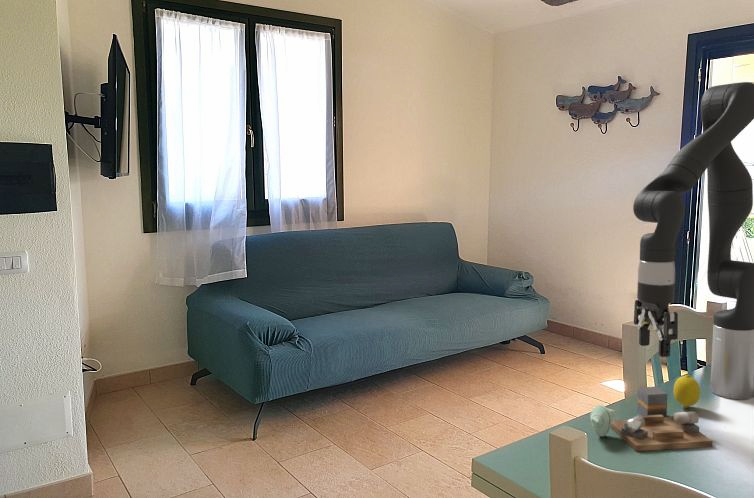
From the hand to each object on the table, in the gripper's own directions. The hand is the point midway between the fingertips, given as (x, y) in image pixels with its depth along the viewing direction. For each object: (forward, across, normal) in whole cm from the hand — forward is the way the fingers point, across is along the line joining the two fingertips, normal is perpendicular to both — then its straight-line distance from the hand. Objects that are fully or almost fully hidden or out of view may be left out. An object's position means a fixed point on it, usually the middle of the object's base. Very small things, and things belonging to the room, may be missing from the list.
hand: (653, 350), depth 133 cm
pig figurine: (+16, -8, +16) cm, 24 cm away
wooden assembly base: (+15, -10, +4) cm, 19 cm away
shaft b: (+14, -11, +10) cm, 21 cm away
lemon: (+16, +3, -10) cm, 19 cm away
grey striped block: (+15, 0, 0) cm, 16 cm away
